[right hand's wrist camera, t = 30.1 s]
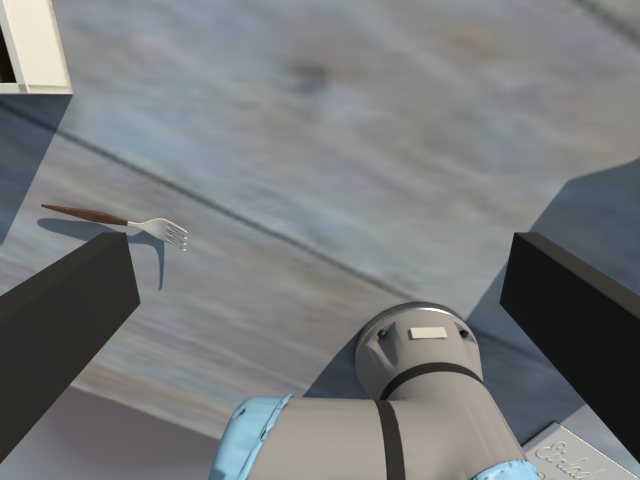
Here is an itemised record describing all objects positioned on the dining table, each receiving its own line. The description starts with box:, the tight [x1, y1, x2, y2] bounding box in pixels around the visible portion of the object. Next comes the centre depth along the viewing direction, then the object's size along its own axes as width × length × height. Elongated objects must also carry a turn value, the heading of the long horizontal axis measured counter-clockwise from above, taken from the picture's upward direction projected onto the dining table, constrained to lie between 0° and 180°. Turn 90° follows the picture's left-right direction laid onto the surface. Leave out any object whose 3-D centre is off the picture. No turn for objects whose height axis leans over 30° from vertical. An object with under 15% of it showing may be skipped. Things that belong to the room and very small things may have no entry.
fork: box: [41, 204, 188, 251], centre depth 39 cm, size 3×16×2 cm, turn 76°
